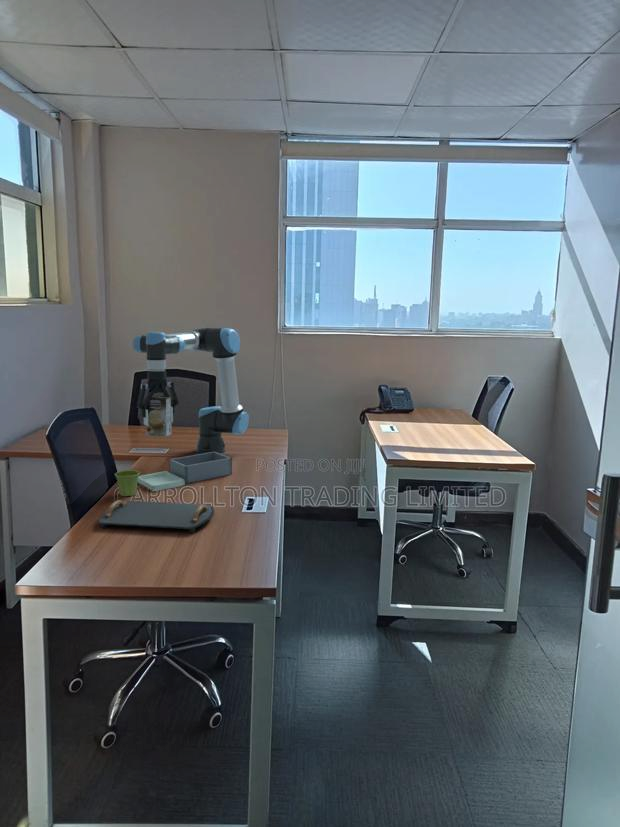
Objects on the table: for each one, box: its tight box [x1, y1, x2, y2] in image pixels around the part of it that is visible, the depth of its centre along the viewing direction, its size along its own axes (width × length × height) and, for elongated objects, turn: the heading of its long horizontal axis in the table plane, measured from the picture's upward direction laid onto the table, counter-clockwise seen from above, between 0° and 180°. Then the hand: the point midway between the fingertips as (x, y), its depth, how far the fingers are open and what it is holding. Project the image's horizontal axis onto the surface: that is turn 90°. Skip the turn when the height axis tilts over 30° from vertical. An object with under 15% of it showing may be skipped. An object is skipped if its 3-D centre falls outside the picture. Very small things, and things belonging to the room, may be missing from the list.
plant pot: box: [114, 469, 141, 497], centre depth 226 cm, size 9×9×9 cm
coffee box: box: [144, 395, 172, 437], centre depth 235 cm, size 9×6×16 cm
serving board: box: [97, 499, 215, 534], centre depth 199 cm, size 39×23×6 cm, turn 83°
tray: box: [137, 470, 186, 493], centre depth 240 cm, size 14×17×2 cm
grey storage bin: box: [168, 452, 233, 484], centre depth 253 cm, size 23×15×8 cm, turn 130°
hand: (158, 423), depth 236 cm, fingers closed on coffee box, 10 cm apart
